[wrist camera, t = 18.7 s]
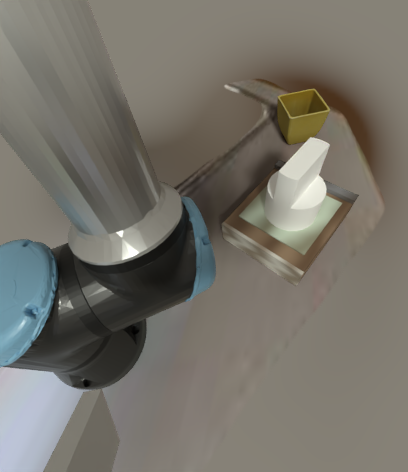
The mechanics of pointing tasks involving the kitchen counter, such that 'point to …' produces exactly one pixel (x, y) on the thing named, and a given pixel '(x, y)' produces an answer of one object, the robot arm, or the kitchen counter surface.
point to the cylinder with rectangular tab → (297, 188)
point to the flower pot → (301, 115)
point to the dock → (285, 231)
